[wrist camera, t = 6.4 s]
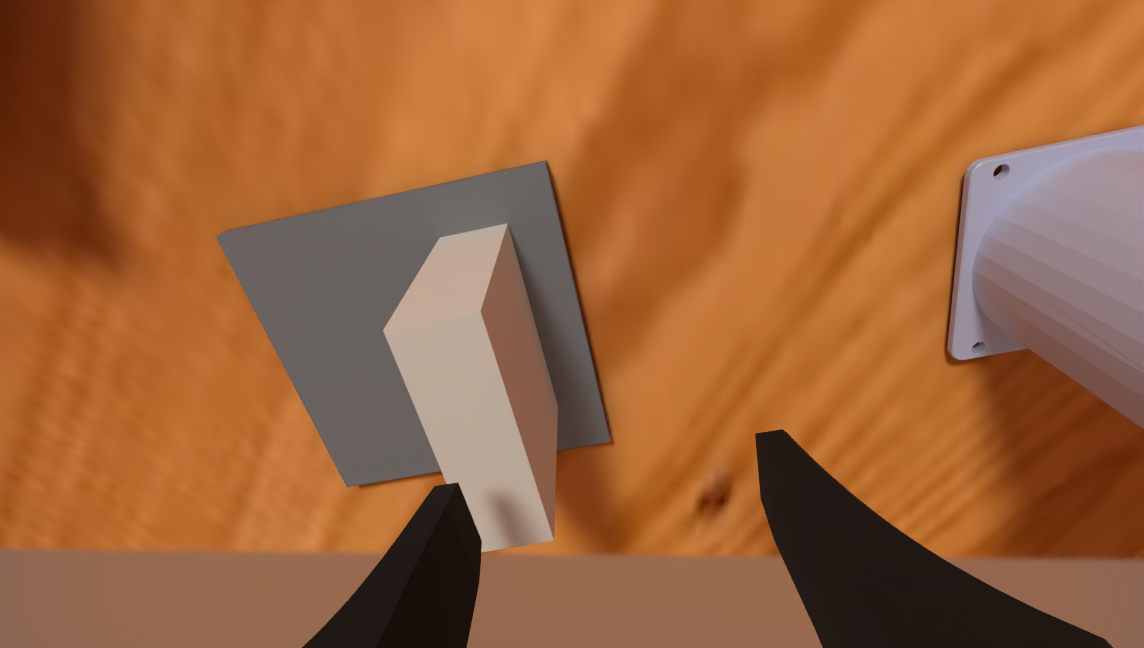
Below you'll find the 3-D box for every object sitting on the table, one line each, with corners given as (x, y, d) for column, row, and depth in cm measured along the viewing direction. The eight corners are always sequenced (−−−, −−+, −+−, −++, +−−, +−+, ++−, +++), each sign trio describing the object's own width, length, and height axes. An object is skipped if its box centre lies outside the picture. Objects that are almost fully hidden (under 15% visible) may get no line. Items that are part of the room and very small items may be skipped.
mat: (546, 160, 20) (546, 163, 19) (609, 433, 25) (610, 441, 25) (225, 231, 21) (216, 236, 20) (351, 477, 26) (346, 487, 26)
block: (507, 223, 20) (480, 311, 14) (557, 406, 24) (554, 540, 18) (439, 237, 20) (382, 330, 14) (499, 416, 24) (475, 552, 18)
